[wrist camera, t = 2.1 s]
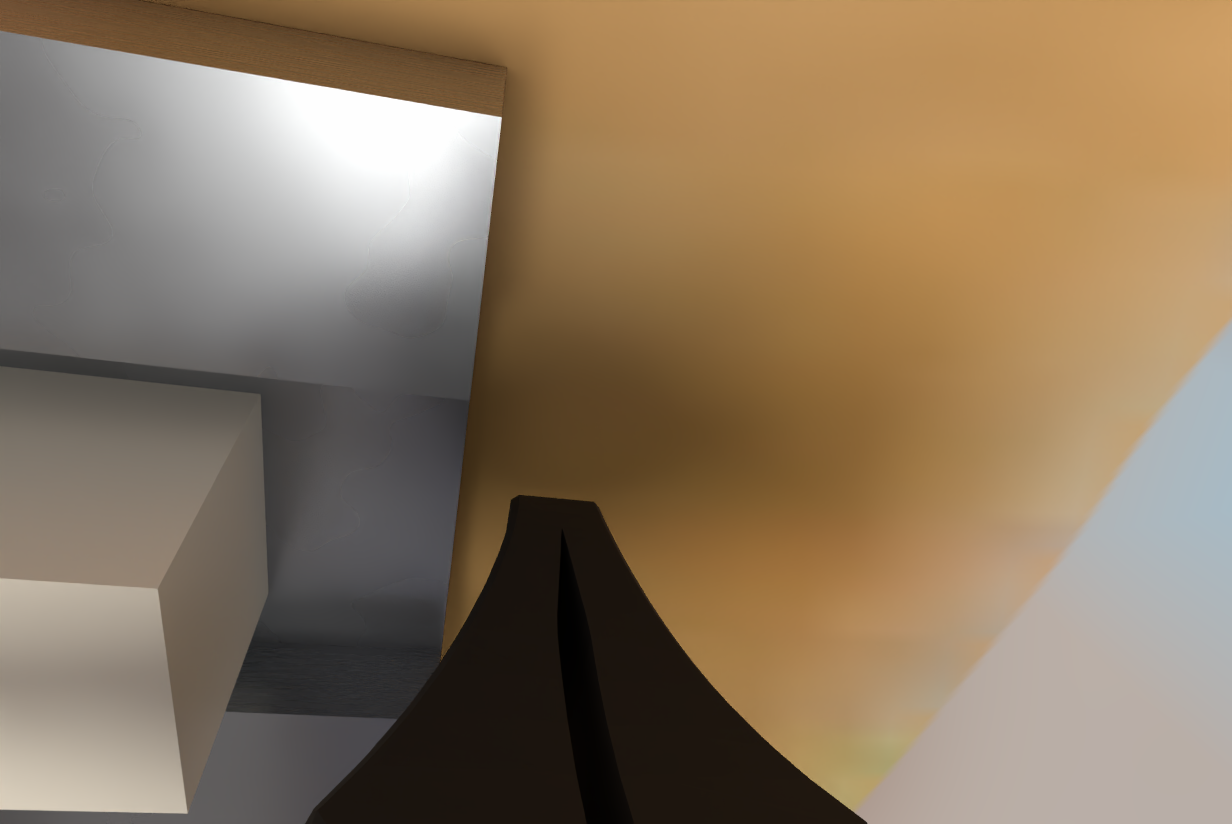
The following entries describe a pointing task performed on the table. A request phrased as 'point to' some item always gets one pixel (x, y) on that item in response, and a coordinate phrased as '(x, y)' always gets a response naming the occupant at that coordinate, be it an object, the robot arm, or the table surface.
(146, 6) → the slotted plate
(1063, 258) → the table surface
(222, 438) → the cream cube block
